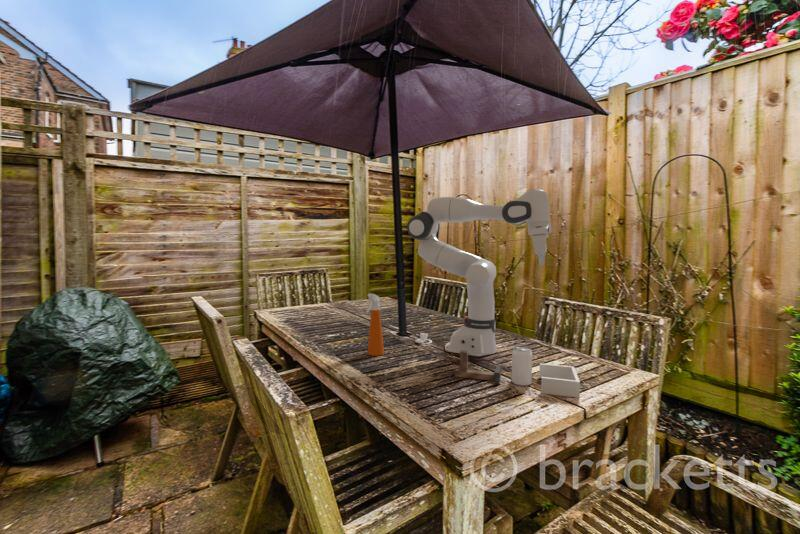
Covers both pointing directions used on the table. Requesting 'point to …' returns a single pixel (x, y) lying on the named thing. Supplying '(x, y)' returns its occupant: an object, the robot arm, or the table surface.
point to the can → (522, 365)
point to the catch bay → (559, 380)
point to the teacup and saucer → (423, 338)
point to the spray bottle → (375, 327)
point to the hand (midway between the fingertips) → (542, 264)
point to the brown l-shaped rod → (476, 374)
